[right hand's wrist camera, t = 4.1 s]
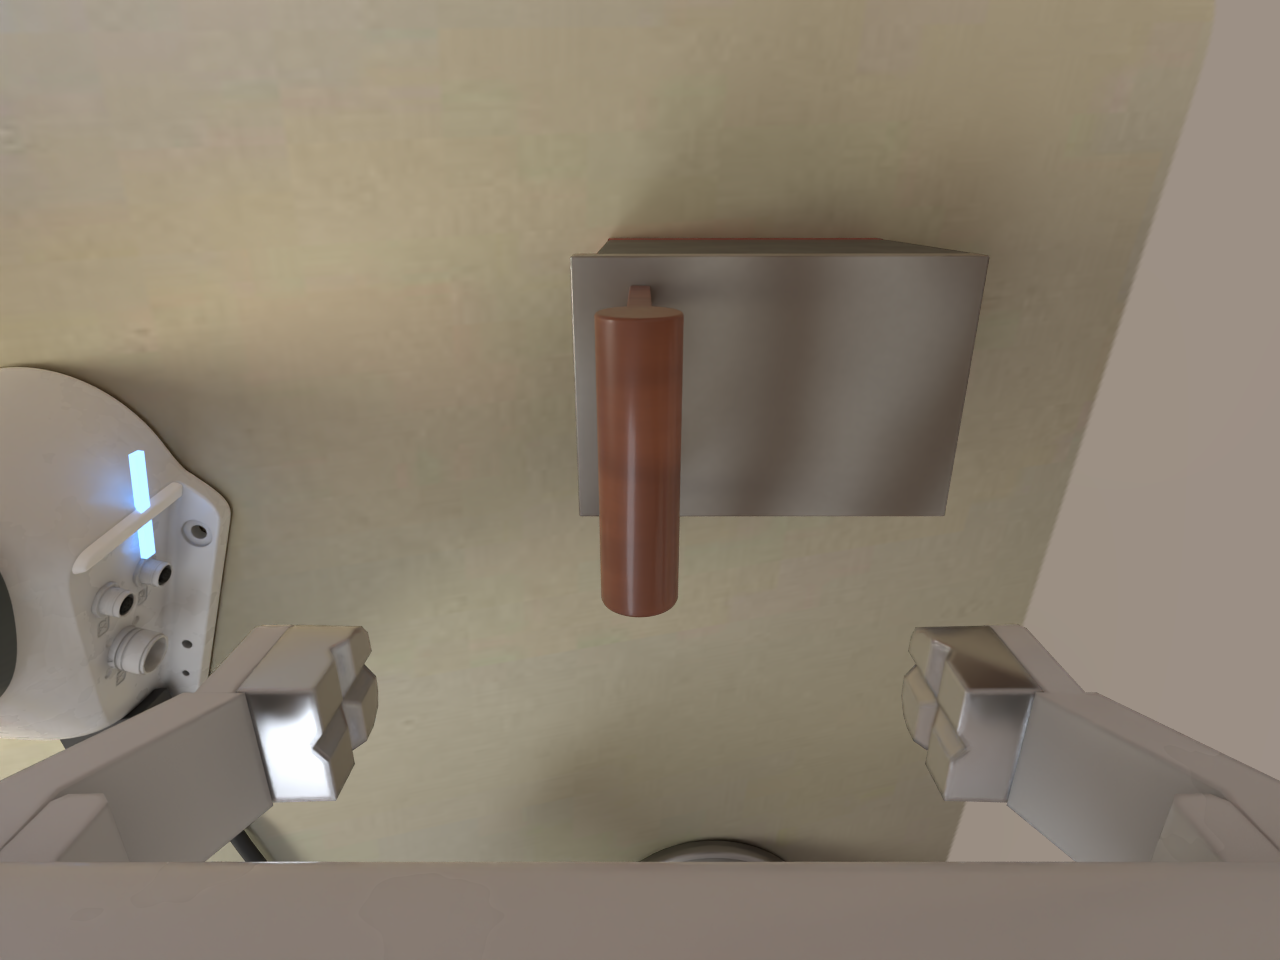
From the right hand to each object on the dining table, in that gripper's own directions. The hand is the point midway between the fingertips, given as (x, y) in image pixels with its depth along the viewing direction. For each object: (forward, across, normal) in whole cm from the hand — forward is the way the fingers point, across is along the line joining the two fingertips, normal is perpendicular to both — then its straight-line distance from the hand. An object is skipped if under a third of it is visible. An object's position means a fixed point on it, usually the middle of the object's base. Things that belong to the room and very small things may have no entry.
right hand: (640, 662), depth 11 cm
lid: (+17, -5, 0) cm, 18 cm away
